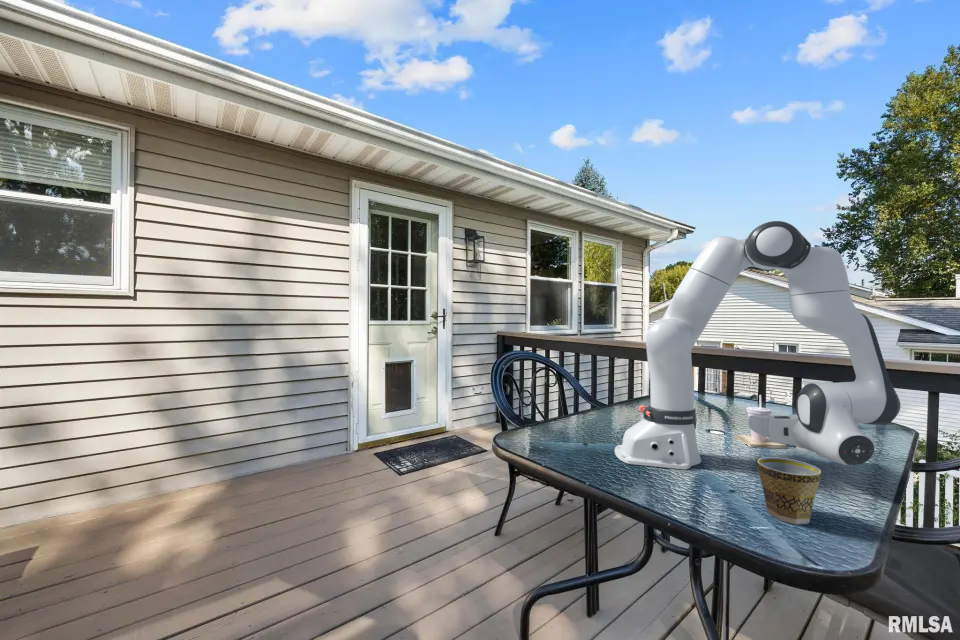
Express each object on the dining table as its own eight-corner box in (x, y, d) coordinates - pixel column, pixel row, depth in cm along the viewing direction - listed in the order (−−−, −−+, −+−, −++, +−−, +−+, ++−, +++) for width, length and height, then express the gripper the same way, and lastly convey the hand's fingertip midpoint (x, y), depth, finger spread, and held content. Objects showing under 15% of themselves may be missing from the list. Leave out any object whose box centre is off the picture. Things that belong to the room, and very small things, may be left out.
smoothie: (775, 443, 121) (775, 397, 121) (752, 442, 122) (751, 396, 122) (765, 437, 127) (764, 393, 127) (742, 436, 128) (742, 392, 128)
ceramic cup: (836, 527, 74) (835, 473, 74) (786, 530, 73) (785, 476, 73) (778, 497, 87) (777, 451, 87) (735, 499, 86) (734, 453, 86)
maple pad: (750, 447, 120) (750, 444, 120) (734, 437, 130) (734, 434, 130) (786, 448, 119) (786, 445, 119) (767, 438, 129) (767, 435, 129)
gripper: (853, 419, 100) (815, 407, 114) (765, 417, 103) (738, 406, 117) (854, 444, 100) (816, 429, 114) (765, 442, 103) (738, 428, 117)
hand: (776, 418), depth 116 cm, fingers open, 8 cm apart
